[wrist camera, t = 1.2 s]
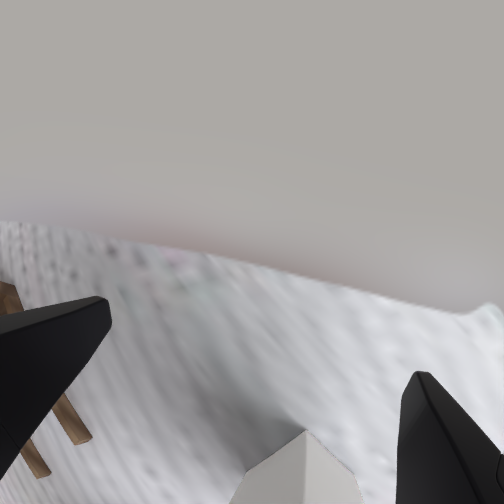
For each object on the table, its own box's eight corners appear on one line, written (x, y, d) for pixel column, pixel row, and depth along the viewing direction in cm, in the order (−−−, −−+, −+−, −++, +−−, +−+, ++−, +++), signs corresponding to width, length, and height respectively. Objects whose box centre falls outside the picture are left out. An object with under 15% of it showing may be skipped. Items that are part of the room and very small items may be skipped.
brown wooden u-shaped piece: (92, 437, 21) (41, 451, 15) (48, 475, 21) (5, 488, 14) (14, 285, 28) (-29, 270, 21) (-18, 339, 27) (-57, 331, 21)
